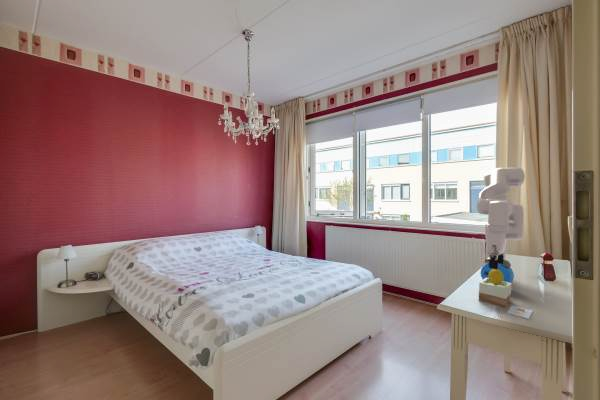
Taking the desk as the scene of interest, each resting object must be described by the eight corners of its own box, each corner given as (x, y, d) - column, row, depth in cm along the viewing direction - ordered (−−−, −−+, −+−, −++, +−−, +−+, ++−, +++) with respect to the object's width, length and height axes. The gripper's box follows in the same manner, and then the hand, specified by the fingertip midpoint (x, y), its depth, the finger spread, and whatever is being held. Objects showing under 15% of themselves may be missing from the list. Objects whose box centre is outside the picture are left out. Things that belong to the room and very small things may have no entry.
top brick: (485, 286, 133) (485, 277, 133) (511, 292, 126) (511, 283, 126) (478, 292, 127) (479, 282, 126) (505, 298, 119) (506, 288, 119)
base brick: (484, 294, 134) (485, 286, 133) (510, 301, 126) (511, 292, 126) (478, 300, 127) (478, 292, 127) (505, 308, 119) (505, 298, 119)
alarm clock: (513, 289, 140) (515, 260, 139) (509, 292, 137) (511, 262, 136) (484, 282, 151) (485, 255, 150) (479, 284, 147) (480, 256, 146)
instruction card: (512, 305, 122) (512, 305, 122) (532, 311, 117) (532, 310, 117) (506, 312, 115) (506, 312, 115) (528, 318, 110) (528, 318, 110)
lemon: (504, 288, 123) (505, 271, 122) (489, 287, 125) (490, 269, 124) (501, 284, 128) (501, 267, 127) (486, 283, 130) (487, 266, 129)
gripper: (493, 225, 133) (491, 260, 135) (482, 230, 122) (480, 268, 123) (512, 227, 128) (510, 263, 129) (503, 232, 116) (501, 272, 118)
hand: (496, 265), depth 126 cm, fingers open, 9 cm apart
